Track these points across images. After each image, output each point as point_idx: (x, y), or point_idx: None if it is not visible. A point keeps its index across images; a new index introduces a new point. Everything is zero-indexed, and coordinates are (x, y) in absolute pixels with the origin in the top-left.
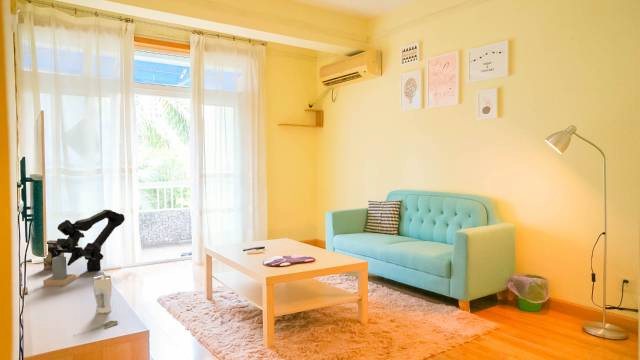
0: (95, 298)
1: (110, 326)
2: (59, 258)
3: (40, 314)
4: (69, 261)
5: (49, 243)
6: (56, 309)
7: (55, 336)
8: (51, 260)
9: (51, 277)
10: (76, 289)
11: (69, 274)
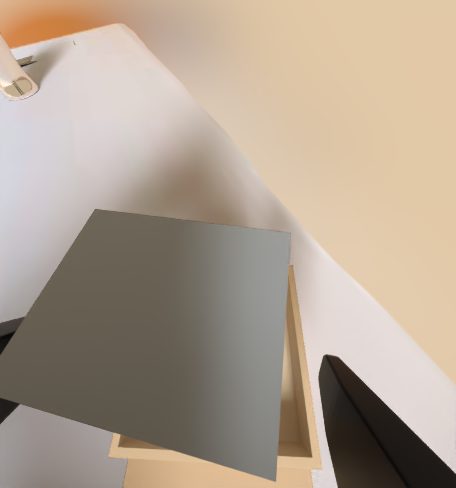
0: (6, 44)
1: (21, 59)
2: (119, 214)
3: (152, 80)
4: (15, 319)
5: None
6: (125, 96)
7: (100, 42)
8: (391, 416)
9: (299, 374)
10: None
11: (164, 450)
